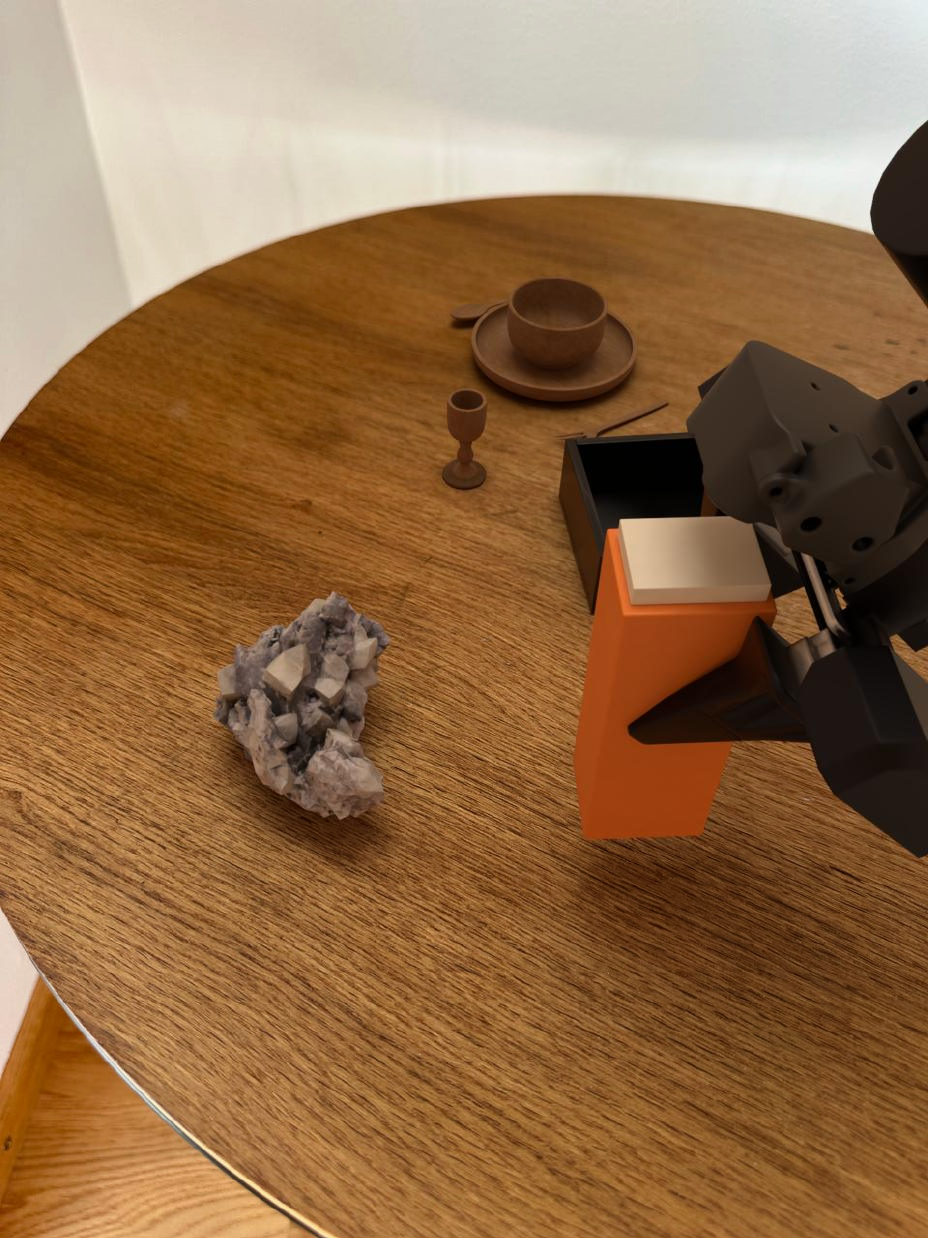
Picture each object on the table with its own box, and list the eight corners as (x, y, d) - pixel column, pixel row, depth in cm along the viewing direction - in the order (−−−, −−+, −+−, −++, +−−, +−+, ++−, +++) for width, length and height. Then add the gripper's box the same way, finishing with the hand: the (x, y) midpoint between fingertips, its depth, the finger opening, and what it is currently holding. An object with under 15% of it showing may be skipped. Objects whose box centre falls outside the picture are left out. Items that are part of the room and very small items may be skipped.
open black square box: (713, 486, 69) (728, 429, 66) (762, 601, 63) (782, 544, 59) (558, 496, 68) (565, 438, 65) (590, 614, 61) (600, 556, 58)
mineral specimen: (396, 840, 47) (329, 628, 44) (206, 868, 49) (132, 668, 47) (450, 725, 58) (399, 551, 56) (294, 753, 61) (238, 586, 58)
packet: (685, 756, 48) (756, 506, 36) (702, 836, 45) (784, 594, 34) (572, 760, 48) (609, 510, 36) (583, 840, 45) (626, 598, 34)
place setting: (697, 397, 76) (714, 323, 71) (463, 499, 68) (466, 424, 63) (545, 284, 85) (552, 214, 81) (324, 363, 77) (318, 289, 73)
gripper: (818, 134, 35) (467, 415, 42) (1057, 530, 22) (497, 828, 30) (967, 344, 41) (637, 556, 49) (1220, 747, 28) (721, 947, 36)
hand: (625, 689), depth 41 cm, fingers closed on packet, 4 cm apart
